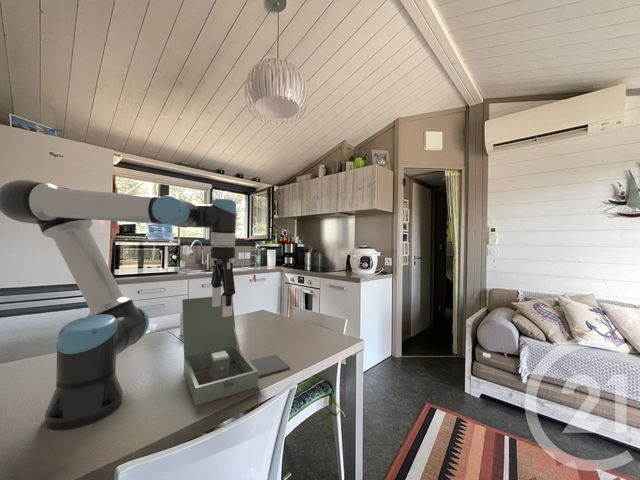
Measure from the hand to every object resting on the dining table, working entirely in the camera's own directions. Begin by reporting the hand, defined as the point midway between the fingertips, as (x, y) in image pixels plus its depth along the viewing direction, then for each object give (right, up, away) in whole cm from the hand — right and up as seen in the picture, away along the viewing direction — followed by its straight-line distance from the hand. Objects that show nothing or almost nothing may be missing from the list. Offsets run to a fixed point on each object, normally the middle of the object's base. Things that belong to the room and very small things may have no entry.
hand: (221, 311), depth 86 cm
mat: (+13, -23, +10) cm, 28 cm away
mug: (-29, -22, +40) cm, 54 cm away
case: (-3, -22, +3) cm, 23 cm away
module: (-1, -22, 0) cm, 22 cm away
